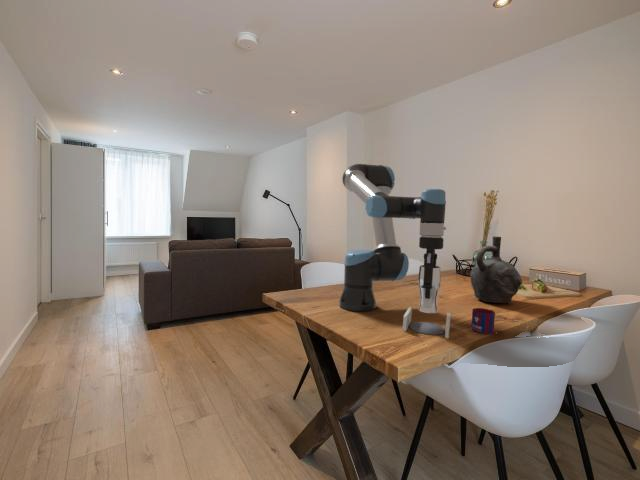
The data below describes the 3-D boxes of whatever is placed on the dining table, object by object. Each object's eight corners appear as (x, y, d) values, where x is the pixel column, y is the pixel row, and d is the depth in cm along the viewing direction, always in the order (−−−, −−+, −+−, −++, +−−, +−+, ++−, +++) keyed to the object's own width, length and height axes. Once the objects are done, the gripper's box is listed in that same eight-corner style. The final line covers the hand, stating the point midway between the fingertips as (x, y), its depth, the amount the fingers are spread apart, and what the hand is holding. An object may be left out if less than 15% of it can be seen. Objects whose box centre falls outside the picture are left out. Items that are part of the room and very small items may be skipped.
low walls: (402, 331, 105) (403, 316, 105) (408, 320, 116) (408, 307, 116) (448, 338, 99) (449, 322, 99) (449, 326, 110) (450, 312, 110)
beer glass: (436, 315, 102) (438, 268, 101) (414, 311, 106) (416, 266, 105) (440, 310, 108) (443, 266, 107) (420, 306, 112) (422, 264, 111)
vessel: (512, 312, 130) (518, 239, 128) (458, 301, 145) (461, 235, 143) (526, 302, 148) (530, 237, 146) (475, 293, 163) (479, 234, 161)
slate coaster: (407, 331, 105) (407, 329, 105) (412, 321, 115) (412, 320, 115) (443, 337, 100) (443, 335, 100) (445, 326, 110) (445, 325, 110)
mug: (466, 328, 109) (468, 309, 108) (485, 325, 113) (487, 306, 113) (484, 335, 103) (486, 314, 102) (504, 331, 108) (505, 311, 107)
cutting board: (529, 300, 154) (530, 284, 154) (491, 289, 177) (492, 275, 176) (582, 297, 164) (583, 282, 164) (539, 287, 186) (540, 274, 186)
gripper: (441, 238, 95) (438, 314, 97) (445, 235, 113) (441, 300, 114) (415, 237, 98) (412, 311, 100) (422, 235, 116) (419, 297, 117)
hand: (428, 305), depth 107 cm, fingers closed on beer glass, 6 cm apart
